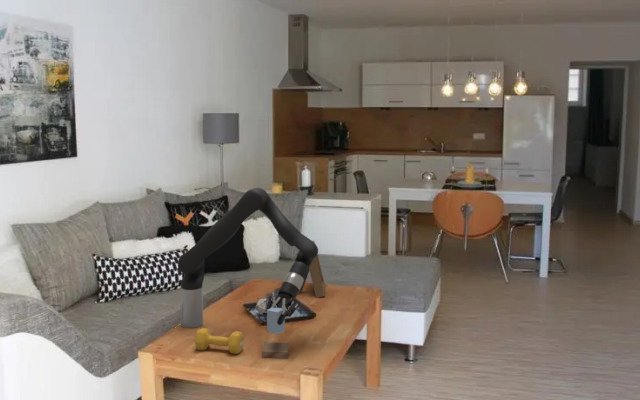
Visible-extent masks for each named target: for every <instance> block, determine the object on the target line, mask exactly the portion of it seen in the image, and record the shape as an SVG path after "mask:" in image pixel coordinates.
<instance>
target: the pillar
mask: <svg viewBox="0 0 640 400" xmlns="http://www.w3.org/2000/svg"><path fill="white" fill-rule="evenodd" d="M282 311H283V310H282V308H278V307H277V306H276V307H274V308H271V309H268V310H267V314H266V316H267V321H266V333H270V334H274V335H279V334H281V333H283V332H285V331H286V318H285V319H284V321H283V323H282V324H281V325H278V323H277V321H278V319H279V317H280V315H282Z"/></svg>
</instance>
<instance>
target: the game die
mask: <svg viewBox="0 0 640 400" xmlns="http://www.w3.org/2000/svg"><path fill="white" fill-rule="evenodd" d="M266 299H267V298H259V297H257V302H256V304H255V306H253V308H254V309H255V310H256V311H257V313H258V315H259V314H260V315H264V314H263V313H265V312H266Z"/></svg>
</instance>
